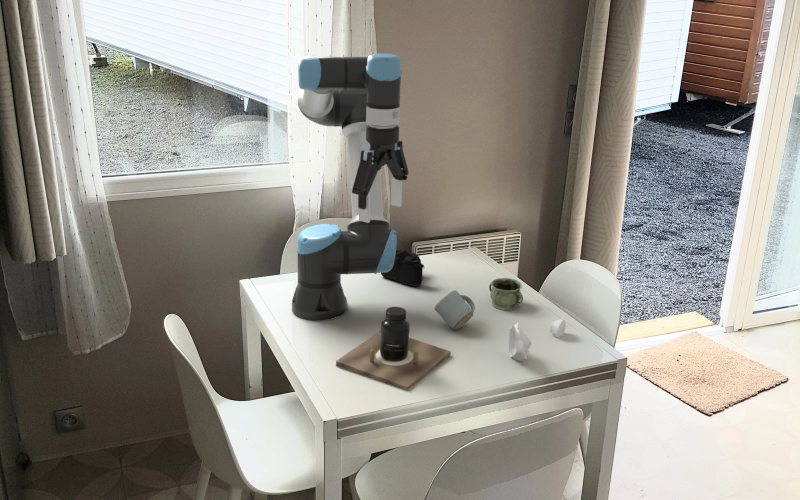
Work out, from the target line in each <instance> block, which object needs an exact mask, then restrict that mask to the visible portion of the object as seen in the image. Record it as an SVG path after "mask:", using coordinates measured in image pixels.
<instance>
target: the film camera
mask: <svg viewBox="0 0 800 500" xmlns="http://www.w3.org/2000/svg"><path fill="white" fill-rule="evenodd" d="M424 269H425V265H424V263H422V260H421V258H420V256H419V255H418V254H417V253H415V252H409V251H408V250H405V249H399V250H398V249H396V254H395V260H394V265H393V267H392V269H391V270H390V271H389V272H383V273H380V275H381V276H383V277H385V278H388V279H390V280H391V279H392V280H393V281H395V282H399V283H401V284H406V285H408V286H409V285H410V287H411V286H412V287H420V286H421V284H422V281H423V270H424Z"/></svg>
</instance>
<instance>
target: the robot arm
mask: <svg viewBox="0 0 800 500" xmlns="http://www.w3.org/2000/svg"><path fill="white" fill-rule="evenodd" d="M402 71H403V70H402V61H401V57H400V56H399V55H397V54H393V53H382V52H381V53H380V52H379V53H373V54H370V55H368V56H317V55H312V56H301V57H300V58H299V59H298V62H297V74H298V75H297V78H298V81H297V82H298V87H299V89H300V91H299V93H298V96H297V104H298V105H297V106H298V109H299V111H300V113H301V114H302V115H303V116H304V117H305V118H307V120H310V121H311V122H313V123H315V124H317V125H321V126H325V127H335V128H336V127H341V133H342V135H343V136H345V137H346V138H347V145H348V151H347V152H348V164H349V181H350V182H349V183H350V185H349V186H350V196H351V197H350V198H351V217H352V218H351V220H350V221H349V222H348V224H347V226H346V228H347V230H346V231H345V230H343V231H342V229H341V227H340V226H339V225H337V224H331V223H320V224H313V225H311V226H307V227H306V228H304V229H302V230H301V231H300V232H299V233H298V235H297V239H296V240H297V241H296V249H295V250H296V255H297V258H296V259H297V261H296V262H297V284H296V287H295V290H294V293H293V296H292V300H291V311H292V313H293V314H294V316H295V315H296V316H297V317H298V318H301V319H303V320H308V321H329V320H333V319H337V318H340V317H342V316H343V315H344V314H345V313H346V312H347V310H348V301H347V300H348V299H347V297H346V296H345V292H344V289H343V286H342V283H341V282H342V281H341V279H342V278H341V276H342V275H359V274H360V275H365V274H374V275H377V274H381V273H383V272H389V271H390V270H391V269H392V267H393V265H394V260H395V254H396V251H397V242H398V241H397V239H398V238H397V231H396V230H395V229H393V228H391V227H390V221H388V220H387V219H386V218H385V217H384V205H383V204H384V203H383V189H382V188H383V187H382V175H381V173H382V171H381V169H382V167H384V166H385V165H386V167H387V168H388V169H389V171H390V174H391V175H392V177H393V178H391V182H390V185H391V186H390V187H391V188H390V206H394V207H398V208H401V207H402V206H403V186H404V185H403V183H404V181H407V179H408V175H409V173H410V172H409V167H408V165H407V161H406V157H405V153H404V147H403V146H404V145H403V141H402V140H400V127H399V125H398V124H399V123H400V116H401V113H400V106H401V82H402V81H401V80H402V74H403V73H402Z"/></svg>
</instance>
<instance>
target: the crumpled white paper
mask: <svg viewBox="0 0 800 500" xmlns="http://www.w3.org/2000/svg"><path fill="white" fill-rule="evenodd" d="M531 346H532V341H531V339H530V337H529V336H528V334H527V333H526V332H525V331H524V330H521V329H520V323H518V322H517V323H515V324H514V325H513V326H512V327H511V329H510V330H509V335H508V354H509V356H510V358H512V359H514V360H516V361H518V360H519V362H521V361H524V362H525V361H527V359H528V356H527V354H528V353H529V352H530V348H531ZM511 355H513V356H511Z"/></svg>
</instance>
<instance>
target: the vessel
mask: <svg viewBox="0 0 800 500" xmlns="http://www.w3.org/2000/svg"><path fill="white" fill-rule="evenodd" d="M488 285H489V286H488V289H489V293H490V294H489V295H490V298H491V300H492V301H491V306H492V307H494V308H495V309H497V310H502V311H513V310H515V309H519V308H521V305H522V304H523V302H524V296H523V293H522V292H521V289H522V287H523V285H522V283H521V281H519V280H517V279H514V278H508V277H499V278H496V279H493V280H492V281H491V282H490V283H489V284H488Z"/></svg>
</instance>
